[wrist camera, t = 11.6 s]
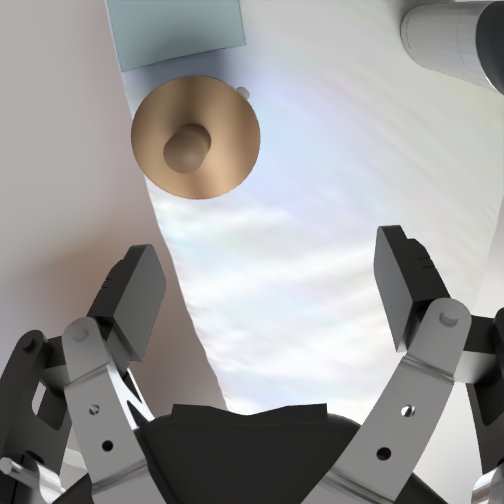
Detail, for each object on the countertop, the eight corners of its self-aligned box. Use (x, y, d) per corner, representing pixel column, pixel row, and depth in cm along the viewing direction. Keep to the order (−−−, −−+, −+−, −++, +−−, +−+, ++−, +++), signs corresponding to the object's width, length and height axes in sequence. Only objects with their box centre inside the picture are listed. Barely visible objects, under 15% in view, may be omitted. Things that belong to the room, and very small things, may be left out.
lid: (250, 65, 28) (246, 69, 24) (267, 188, 36) (267, 210, 32) (121, 92, 30) (100, 102, 26) (152, 202, 38) (138, 224, 34)
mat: (227, -65, 23) (225, -67, 22) (245, 44, 33) (245, 44, 32) (105, -30, 25) (102, -31, 24) (124, 71, 35) (121, 72, 34)
